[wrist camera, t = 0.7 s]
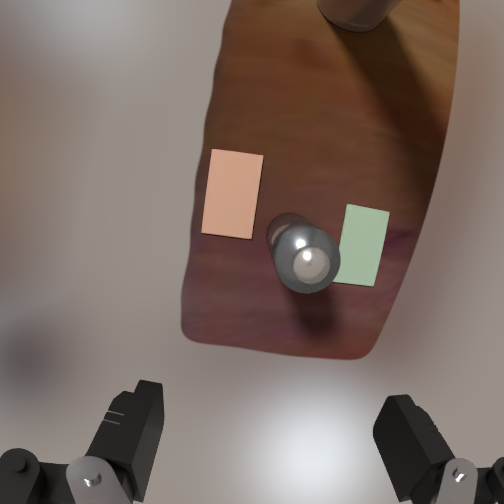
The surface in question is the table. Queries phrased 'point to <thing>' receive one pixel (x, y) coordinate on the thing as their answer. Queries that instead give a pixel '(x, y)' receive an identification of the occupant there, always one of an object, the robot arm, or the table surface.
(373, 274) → the mat
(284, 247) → the bottle
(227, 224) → the mat
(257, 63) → the table surface
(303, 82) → the table surface
